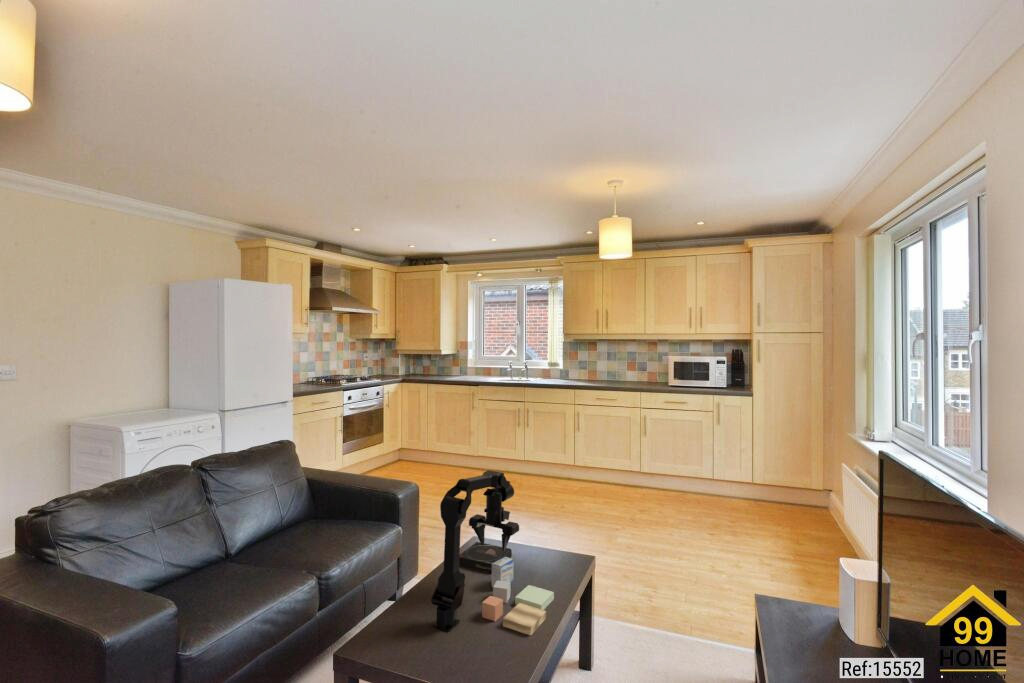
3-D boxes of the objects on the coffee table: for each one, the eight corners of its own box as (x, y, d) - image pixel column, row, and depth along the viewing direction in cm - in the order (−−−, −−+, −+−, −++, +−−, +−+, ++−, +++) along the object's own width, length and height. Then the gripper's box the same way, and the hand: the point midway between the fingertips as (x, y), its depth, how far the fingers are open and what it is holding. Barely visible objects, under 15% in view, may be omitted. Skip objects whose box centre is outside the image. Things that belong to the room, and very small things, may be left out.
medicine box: (500, 590, 183) (500, 566, 183) (491, 586, 186) (491, 563, 186) (513, 582, 190) (514, 559, 190) (504, 578, 192) (504, 555, 192)
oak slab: (530, 635, 156) (530, 627, 155) (502, 626, 160) (502, 618, 160) (546, 618, 165) (546, 611, 165) (519, 610, 170) (519, 602, 170)
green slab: (541, 612, 169) (541, 605, 169) (515, 604, 174) (515, 597, 174) (553, 599, 177) (553, 592, 177) (528, 591, 182) (528, 584, 182)
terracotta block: (495, 621, 163) (495, 606, 163) (482, 617, 165) (482, 602, 165) (502, 614, 167) (503, 599, 167) (490, 610, 170) (490, 595, 170)
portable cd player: (511, 557, 211) (511, 548, 211) (493, 575, 196) (493, 564, 196) (477, 550, 218) (477, 541, 218) (457, 566, 203) (457, 556, 203)
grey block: (506, 603, 174) (506, 588, 174) (492, 601, 176) (493, 586, 176) (510, 596, 179) (510, 582, 179) (496, 594, 181) (497, 580, 180)
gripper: (526, 503, 188) (525, 545, 188) (484, 495, 197) (483, 535, 197) (511, 512, 178) (511, 556, 178) (468, 503, 187) (467, 545, 187)
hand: (493, 547), depth 185 cm, fingers open, 9 cm apart
